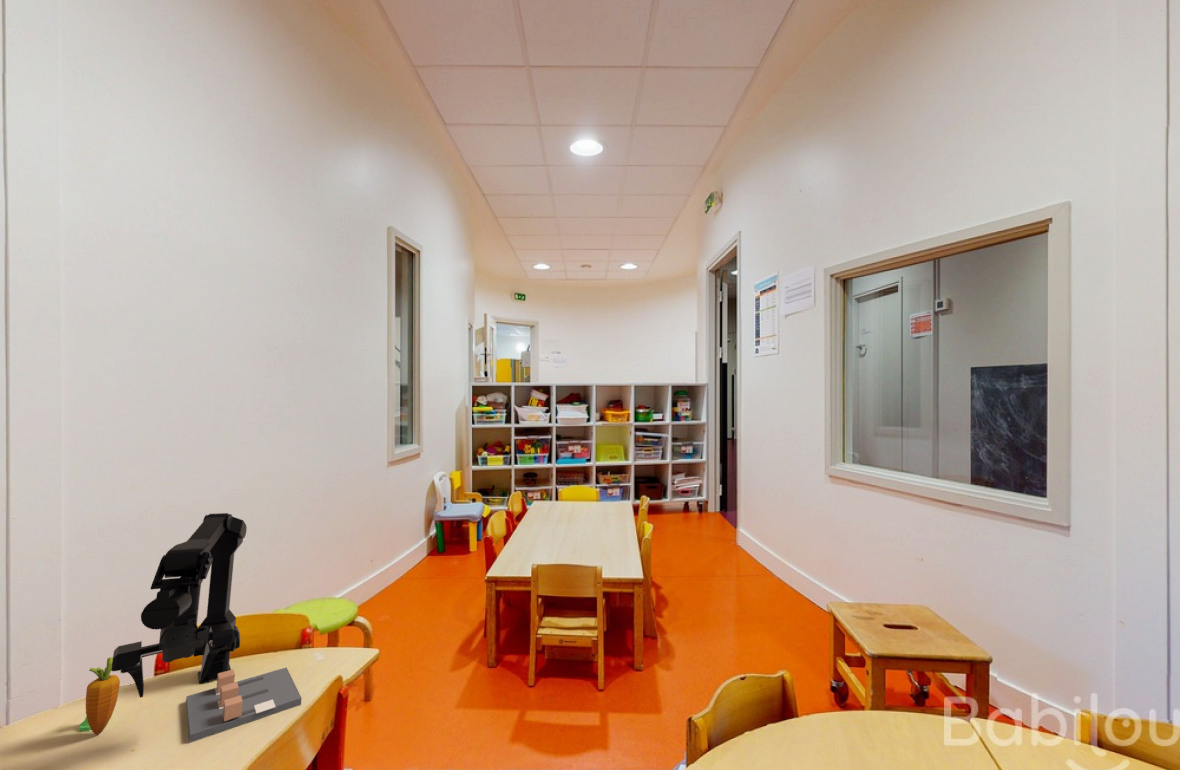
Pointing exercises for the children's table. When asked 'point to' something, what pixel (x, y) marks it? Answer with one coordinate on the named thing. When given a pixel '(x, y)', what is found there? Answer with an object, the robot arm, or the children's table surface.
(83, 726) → the game piece
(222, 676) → the slider far
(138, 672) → the robot arm
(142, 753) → the children's table surface
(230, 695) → the slider middle
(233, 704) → the slider near
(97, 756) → the children's table surface
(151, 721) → the children's table surface
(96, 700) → the carrot
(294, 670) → the children's table surface
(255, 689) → the switch console
